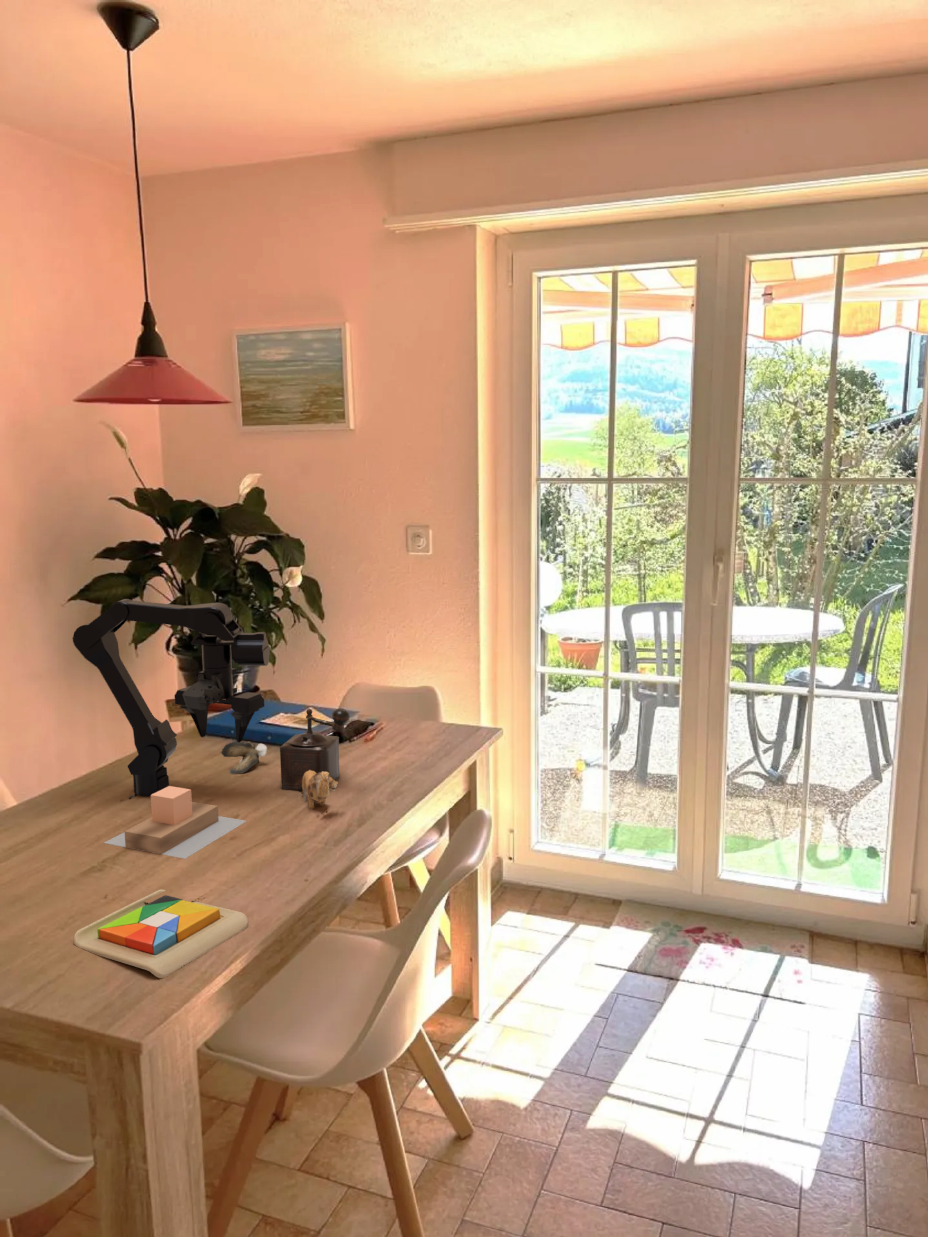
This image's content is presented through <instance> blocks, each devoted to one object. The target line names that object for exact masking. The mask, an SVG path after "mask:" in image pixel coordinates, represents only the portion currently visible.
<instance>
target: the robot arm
mask: <svg viewBox="0 0 928 1237" xmlns="http://www.w3.org/2000/svg"><path fill="white" fill-rule="evenodd" d="M128 621H129V622H139V623H150V624H159V625H169V626H171V625H172V626H180V627H184V628H186V629H189V630H191V631H193V632H196V633H197V635H196V637H195V638H194V639H193V640H192V641H191V642H190V644H191V645H192V646H201V652H202V653H201V657H202V658H201V659H202V671H199V672H198V675H197V681H196V682H194V683H193V684H192V685H189V686H186V687H184V688H179V689H177V690H176V692H175V694H174V696H173V698H174V705H178V706H179V707H180V708H181V709H182V710H185V711H186V712H188V713H189V714H190V716H191V719H192V720H193V723H194V725H195V727H196V730H197V732H198V734H199V736H200V738H204V737H206V736H207V731H208V730H207V728H208V716H209V715H208V714H209V706H210V705H214V704H221V705H227V706H230V708H231V710H233V711H231V712H230V715H231V716H232V718H233V719H234V729H235V731H234V732H235V739H236V740H235V741H237V742H238V743H239V742H243V739H244V736H245V733H246V731H247V730H248V727H249V725H250V722H251V720H252V718H253V716H254V715H255V713H257V712H258V711H260V709H261V708H265V698H264V696H263V695H262V694H261V693H258V692H249V691H247V692H243V693H240V694H237V693H238V688H237V687H234V685H233V684H234V683H233V676H234V675H235V674H237V668H235V667H233V663H232V662H234V664H235V663H236V664H237V666H240V667H243V666H246V667H247V666H248V667H249V666H250V667H251V666H252V667H254V666H255V667H257V666H260V667H263V666H264V667H267V666H268V665H269V661H270V655H271V654H270V653H271V652H270V651H271V650H270V649H271V647H270V645H269V641H268V638H267V633H266V632H265V631H259V632H258V631H257V632H244V630H243V628H242V627H241V626H240V625H239V623H237V621H236V620H235V619H234V617H233V612H232V609H231V608H229V606H228V605H227V604H225V603H222V602H210V603H199V604H191V605H182V604H173V603H172V604H171V603H160V602H151V601H150V602H149V601H142V600H141V601H139V600H132V599H129V598H124V599H121V600H118V601H116V602H114V603H113V604H112V605H111V606H110V607H109V608H107V610H106V611H105V612H102V614H100V615H99V616H97V617H96V618H95V619H93V620H92V621H89V622H87V623H84V624H82V625H80V626H78V627H77V628H76V629H75V630H74V632H73V636H72V643H73V645H74V647H75V648H76V650H77V651H78V652H79V653H80V654H81V656H82V657H83V658H84V659H85V660H86V661H88V662H89V663H90V664H92V665H93V666H94V667H96V668H97V669H98V672H100V675H101V676H102V678H103V680H104V681H105V683H106V685H107V686H108V688H109V691H110V692H111V693H112V695H113V697H114V698H115V701H116V702H117V704H118V706H119V707H120V709H121V711H122V713H123V715H124V716H125V718H126V719H127V721H128V723H129V724H130V726H131V730H132V734H133V742H134V746H135V749H136V752H137V754H138V755H137V756H135V757H134V759H132V760H131V762H130V763H129V764H127V769H128V771H129V773H130V775H131V776H132V777H133V780H132V781H133V794H132V795H130V796H128V799H129V800H132V799H134V798H135V797H138V796H140V797H151V795H152V794H154V793H156V792H158V791H160V790H162V789H164V788H166V787H168V786H170V778H169V774H168V769H167V767H166V766H164V765H165V764H166V763H168V761H169V758H170V757H171V756H172V755H173V754H174V753H175V751H176V750H177V749H176V748H177V745H178V741H177V739H176V737H177V736H178V735H177V733H176V732H175V731H174V730H173V729H172V727H171V724H170V722H169V720H168V719H165V720H164V721H160V720H159V719H157V717H155V716H154V715H153V713H152V711H151V710H150V708H149V706H148V704H147V702H146V700H145V699H144V697H143V696H142V694H141V692H140V690H139V689H138V687H137V685H136V683H135V682H134V680H133V678H132V676H131V675H130V673H129V671H128V669H127V667H126V666H125V664H124V662H123V661H122V659H121V657H120V648H119V642H118V639H117V637H116V634H115V633H116V632H118V631H119V630H120V629H121V628H122V627H123V626H124V625H125V624H126V623H127V622H128ZM235 694H237V695H235Z"/></svg>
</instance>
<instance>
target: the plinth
mask: <svg viewBox="0 0 928 1237" xmlns="http://www.w3.org/2000/svg"><path fill="white" fill-rule="evenodd" d="M218 816H219V806H218V805H215V804H207V803H203V802H202V803H201V802H197V801H196V802H195V801H192V816H190V817H188V818H186V819H185V820H183V821H181V822H179V823H177V824H175V825H171V824H166V823H160V822H155V821H152V816H150V817H148V818H147V819H145V820H143V821H141V822H140V823H138V824H136V825H134V826H131V827H129V828H128V829H126V830H124V831H123V833H124V832H125V846H126V847H127V848H126V847H125V848H126V849H131V848H133V850H136V849H138V851H141V850H143V851H142V852H147V851H148V853H152V852H153V854H157V853H158V854H157V855H162V854H163V853H165V852H166V851H168V850H170V849H171V848H173V847H175V846H177V845H178V844H180V843H182V842H183V841H185V840H187V839H189V838H190V837H192V836H194V835H195V834H197V833H199V832H201V831H202V830H204V829H206V828H207V827H209V826H211V825H213V824H214V823H216V822H218V821H219V819H218Z"/></svg>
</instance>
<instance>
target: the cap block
mask: <svg viewBox="0 0 928 1237" xmlns="http://www.w3.org/2000/svg"><path fill="white" fill-rule="evenodd" d="M192 798H193V797H192V789H190V788H184V787H178V786H173V785H169V786H168V787H166V788H164V789H162V790H160V791H158V792H156V793H154V794H152V795H151V796H150V805H151V806H150V807H151V817H152V821H155V822H160V823H166V824H171V825H175V824H177V823H179V822H181V821H183V820H185V819H186V818H188V817H190V816H192V802H193V800H192Z"/></svg>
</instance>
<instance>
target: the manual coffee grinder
mask: <svg viewBox="0 0 928 1237" xmlns="http://www.w3.org/2000/svg"><path fill="white" fill-rule="evenodd" d="M305 714H306V715H305V719H306V720H307V723H306V724H307V729H306V730H307V731H306V732H303V733H301V734H300V733H296V734H295V735H293V736H292V737H290V738H289V739H288V740H287V741H285V742H284V743H283V744H282V745H281V746H280V747H279V754H280V780H281V787H280V788H281V790H286V791H287V790H288V791H289V790H290V791H300V792H302V791H303V790H302V779H303V776H304V773H305V772H307V771H309V770H311V771H315V772H316V773H319V772H322V771H323V772H328V773H329V776H330V777H332V779H333V780H335V781H337V782H338V780H339V778H340V773H341V772H340V742H339V741H340V740H339V739H340V737H339V736H335V735H323V734H322V733H320V732H316V731H315V732H314V731H313V730H312V725H313V724H312V721H313V722H315V723H317V724H321V725H325V726H329V727H331V728H332V730H333V731H335V732H336V733H338V732H341V733H342V732H344V731H345V730H346V729H345V728H346V727H345V725H346V724H347V723H348V721H349V720H350V716H351V715H350V712H349V711H348V710H346V709H344V708H342V707H340V708H336V709H334V710H333V711H332V713H331V717H332V719H333V722H332V721H328V720H324V719H319V718H317V717H313V710H312V709H311V708H308V709H307V710H306V713H305Z"/></svg>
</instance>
